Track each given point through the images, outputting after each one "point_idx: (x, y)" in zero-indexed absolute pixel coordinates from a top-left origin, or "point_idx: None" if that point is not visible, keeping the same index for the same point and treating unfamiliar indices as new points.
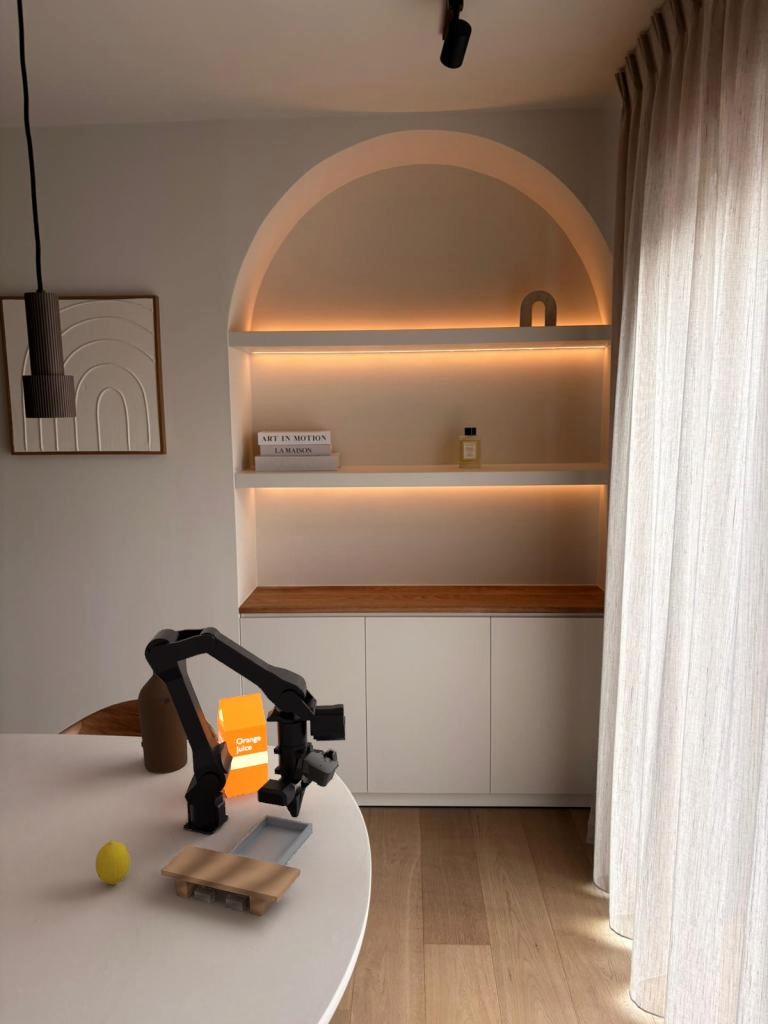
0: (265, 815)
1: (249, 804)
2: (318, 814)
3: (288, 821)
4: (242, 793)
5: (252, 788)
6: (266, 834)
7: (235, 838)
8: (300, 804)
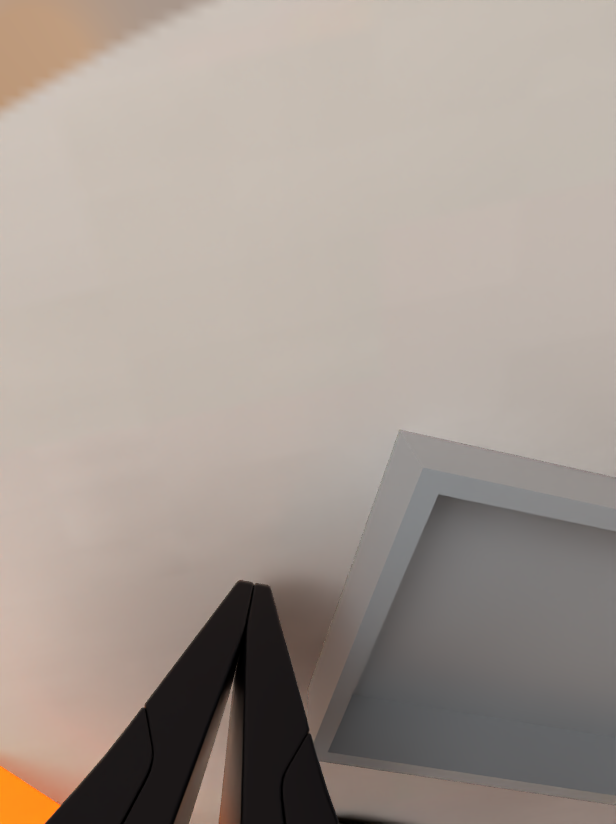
0: None
1: None
2: (131, 439)
3: (372, 634)
4: None
5: (6, 815)
6: (436, 673)
7: None
8: (211, 663)
